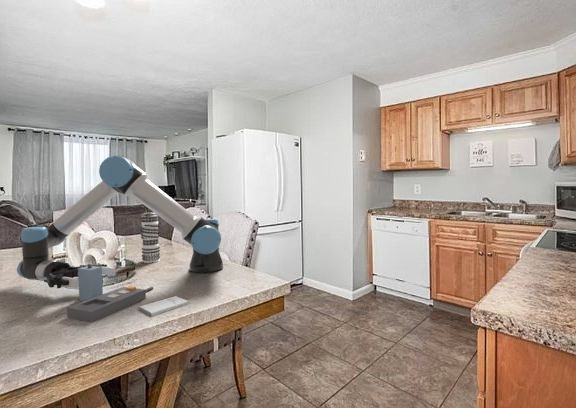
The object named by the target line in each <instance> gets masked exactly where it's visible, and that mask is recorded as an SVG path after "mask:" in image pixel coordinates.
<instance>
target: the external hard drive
mask: <svg viewBox="0 0 576 408" xmlns="http://www.w3.org/2000/svg"><path fill="white" fill-rule="evenodd" d="M188 304H189V301H188V300H186V299H183V298H181V297H179V296H177V295H174V296H172V297H168V298H164V299H161V300H157V301H154V302H150V303H147V304H144V305H140V306H138V310H139V311H141V312H143V313H144V314H147V315H148V316H150V317H154V316H157V315H160V314H162V313H166V312H168V311H171V310H175V309H176V308H180V307H183V306H186V305H188Z"/></svg>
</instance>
